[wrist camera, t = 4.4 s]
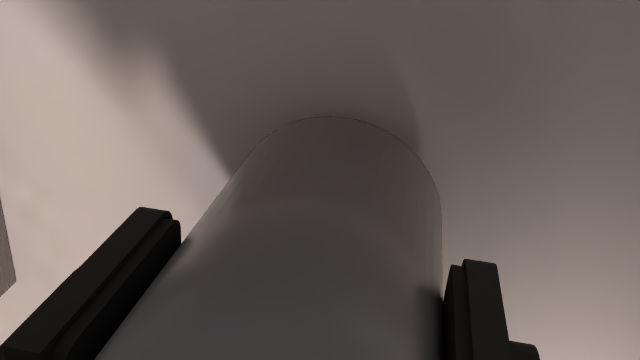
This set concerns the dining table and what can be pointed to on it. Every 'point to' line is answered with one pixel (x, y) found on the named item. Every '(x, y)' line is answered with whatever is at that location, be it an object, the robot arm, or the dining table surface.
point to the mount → (5, 259)
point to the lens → (304, 258)
